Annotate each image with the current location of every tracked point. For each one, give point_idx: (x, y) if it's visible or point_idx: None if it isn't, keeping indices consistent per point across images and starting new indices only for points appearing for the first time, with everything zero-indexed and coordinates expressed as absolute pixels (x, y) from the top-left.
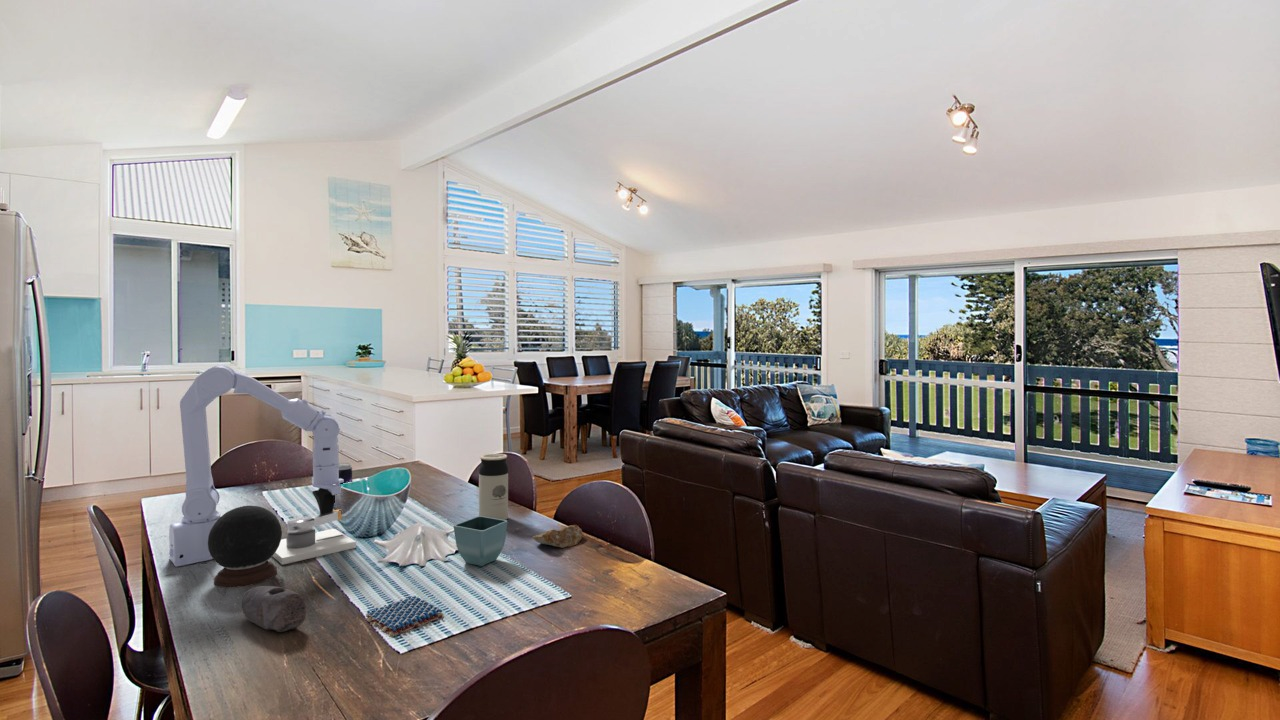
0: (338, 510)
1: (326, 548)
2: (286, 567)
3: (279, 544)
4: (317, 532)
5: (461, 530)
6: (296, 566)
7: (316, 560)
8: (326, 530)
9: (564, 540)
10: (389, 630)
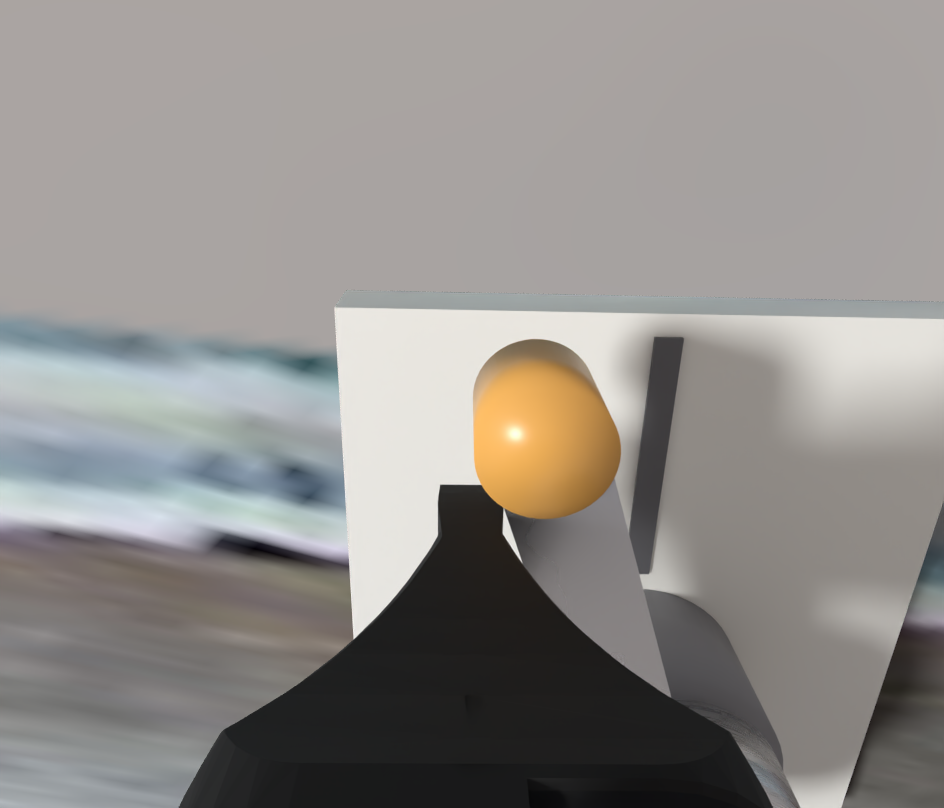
0: (544, 443)
1: (914, 580)
2: (881, 785)
3: None
4: (360, 484)
5: None
6: (923, 746)
7: (937, 634)
8: (352, 397)
9: None
10: None
